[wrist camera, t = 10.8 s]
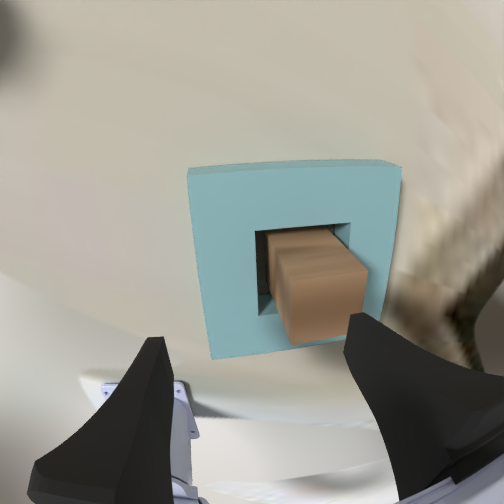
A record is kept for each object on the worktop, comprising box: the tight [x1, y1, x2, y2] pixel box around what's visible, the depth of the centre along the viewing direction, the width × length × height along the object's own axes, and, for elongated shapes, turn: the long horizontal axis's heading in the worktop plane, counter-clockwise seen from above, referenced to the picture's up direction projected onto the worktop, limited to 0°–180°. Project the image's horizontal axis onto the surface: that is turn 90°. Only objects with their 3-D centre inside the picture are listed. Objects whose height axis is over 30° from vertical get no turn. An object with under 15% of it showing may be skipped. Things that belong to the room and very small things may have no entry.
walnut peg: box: [264, 225, 368, 345], centre depth 19 cm, size 4×4×7 cm
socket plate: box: [187, 160, 402, 360], centre depth 21 cm, size 13×13×2 cm
